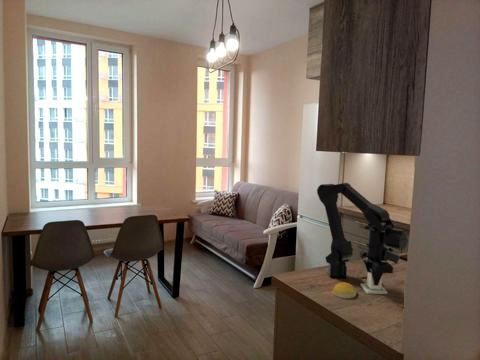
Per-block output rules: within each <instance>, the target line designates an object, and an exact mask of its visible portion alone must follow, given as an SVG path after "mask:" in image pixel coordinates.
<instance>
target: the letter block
mask: <svg viewBox="0 0 480 360" xmlns="http://www.w3.org/2000/svg"><path fill="white" fill-rule="evenodd" d="M366 273H367V272H366ZM366 276H367V285H368V287H369V288H370V289H381V284H382V283H383V281H382V280H383V276H382V277H381V279H380V281H379V283H378V285H374V282H373V278H372V274H371V272H368V273H367V275H366Z"/></svg>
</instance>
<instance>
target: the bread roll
mask: <svg viewBox="0 0 480 360" xmlns="http://www.w3.org/2000/svg"><path fill="white" fill-rule="evenodd" d="M331 293H332V294H333V295H334V296H336V297H338V298H341V299H354V298H356V295H357V289H356V288H355V287H354V286H353V285H352V284H350V283H348V282H345V281H341V282H338V283H337V284H335V285H334V287H333V288H332V291H331Z"/></svg>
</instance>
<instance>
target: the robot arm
mask: <svg viewBox="0 0 480 360" xmlns="http://www.w3.org/2000/svg"><path fill="white" fill-rule="evenodd" d="M316 192H317V196H318V199H319V201H320V202H321V203H322V204H323V206H324V209H325V213H326V217H327V218H326V219H327V222H328V225H329V230H330V236H331V239H332V241H331V244H330V253H329V254H328V255H327V256H325V261H326V264H328V272H326V274H327V275H328V277H329V279H332V280H333V279H335V280H337V279H338V280H339V279H340V280H346V279H347V272H348V267H347V265H346V264H347V263H348V262H349V260H350V259H351V258H352V256H353V251H354V248H353V245H352V241H351V240H347V239H346V237H345V234H344V229H343V227H342V221H341V217H340V213H339V208H338V205H337V203H338V199H339V194H341V195H342V196H344V197H345V198H346V199H347V200H348V201H349V202H351V203H352V204H353V206H355V207H356V208H358V210H360V212H361V213H362V215H363V217H364V218H365V220H366V221H367V222H368V223H367V225H365V226H364V227H363V228H364V230H368V232H369V233H368V243H366V247H367V249H361V250H360V251H359V258H360V259H362V263H363V265H364V268H365V271H366V273H368V272H371V274H372V278H373V282H374V285H378V283H379V281H380V279H381V277H382V278H383V275H384V274H393V273H394V267H393V266H392V264H391V263H389V262H392V263H393V264H395V265H398V263H399V260H400V258H401V255H400V254H398V253H396V252H394V249H393V248H395V249H397V250H405V249H406V247H407V245H408V240H409V239H408V236H407V234H406V230H405V229H398V228H396V227H395V225H394V222H393V221H392V219H391V217H390V213H389V212H388V210H386V209H384V208H383V207H381V206H379V205H377V204H374V203H373V202H371V201H370V200H368V199H367V198H366V197H365V196H363V195H362V194H361V193H360V192H359V191H358V190H356V189H355V188H353V187H352V185H351V184H350V183H348V182H340V183H337V184H334V183H324V184H320V185H319V186H318V187H317V189H316ZM385 245H386V246H385ZM363 259H364V260H363ZM388 261H389V262H388Z"/></svg>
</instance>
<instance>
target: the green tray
mask: <svg viewBox="0 0 480 360" xmlns="http://www.w3.org/2000/svg"><path fill="white" fill-rule="evenodd" d="M360 287H361V289H362V290H364V292H365V293H366V294H374V295H377V294H378V295H379V294H380V295H388V291H387V290H386V288H384V287H383V286H381V289H370V288H369V287H368V285H367V284H363V283H362V282H360Z"/></svg>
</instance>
